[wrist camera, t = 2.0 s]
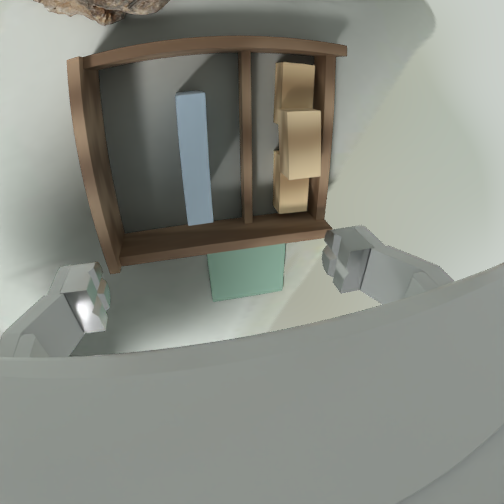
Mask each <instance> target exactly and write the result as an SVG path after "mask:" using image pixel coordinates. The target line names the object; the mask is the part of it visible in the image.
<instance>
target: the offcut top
mask: <svg viewBox="0 0 504 504" xmlns="http://www.w3.org/2000/svg"><path fill="white" fill-rule="evenodd" d="M277 110H278V131H279V154H280V172H281V173H282V174H283V175H284V176H285V177H287V178H288V179H289V180H294V179H302V178H311V177H320V176H321V111H320V110H316V109H311V108H289V109H277Z"/></svg>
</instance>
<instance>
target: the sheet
mask: <svg viewBox="0 0 504 504" xmlns="http://www.w3.org/2000/svg"><path fill="white" fill-rule="evenodd" d="M175 97H176V112H177V125H178V137H179V149H180V159H181V169H182V178H183V187H184V196H185V204H186V212H187V220H188V226H191V225H198V224H206V223H213V210H212V197H211V184H210V170H209V155H208V138H207V120H206V99H205V93H204V92H202V91H199V90H197V91H186V92H177V93H176V96H175Z"/></svg>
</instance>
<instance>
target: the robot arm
mask: <svg viewBox="0 0 504 504" xmlns="http://www.w3.org/2000/svg"><path fill="white" fill-rule="evenodd" d="M324 241H325V242H326V244H327V246H326V247H325V248H324V250H323V253H322V263H323V267H324V270H325V271H326V273H327V274H328V275H330V276H332V277H334V278H333V283H334V285H335V286H336V287H337V289H338V290H339V292H340V293H345V292H351V291H355V290H361V291H362V292H363V293H365V294H367V295H368V296H370V297H372V298H373V299H374V300H376V301H378V302H379V303H381V304H382V305H380V306H376V307H373V308H369V309H366V310H362V311H358V312H355V313H351V314H347V315H343V316H339V317H335V318H331V319H327V320H323V321H319V322H314V323H310V324H306V325H301V326H296V327H292V328H287V329H282V330H277V331H273V332H267V333H262V334H257V335H252V336H246V337H241V338H235V339H229V340H223V341H216V342H210V343H203V344H197V345H190V346H182V347H175V348H167V349H158V350H149V351H140V352H130V353H119V354H106V355H91V356H70V354H71V353H72V351H73V350H74V349H75V347H76V346H77V344H78V343H79V342H80V340H81V339H82V337H83V336H84V335H85V334H84V333H92V332H100V331H106V326H107V320H108V316H107V313H106V311H107V310H108V309H109V308H110V302H111V301H110V291H109V287H108V284H107V282H106V281H105V280H104V279H102V278H101V277H102V273H103V271H102V268H101V266H100V263H98V262H89V263H82V264H74V265H67V266H62V267H60V268H59V269H58V272H57V274H56V276H55V278H54V281H53V283H52V285H51V287H50V290H49V292H48V295H46V296H43V297H42V298H41V299H40V300H38V301H37V302H36V303H35V304H34V305H33V306H32V307H31V308H29V309H28V310H27V311H26V312H25V313H24V314H23V315H22V316H21V317H20V318H19V319H18V320H16V321H15V322H14V323H13V324H12V325H11V326H10V327H9V328H8V329H7V330H6V331H5V332H4V333H3V334H2V336H1V339H0V504H504V263H502V264H499V265H497V266H495V267H492V268H490V269H487V270H485V271H482V272H479V273H477V274H474V275H471V276H469V277H466V278H464V279H461V280H458V281H454V280H453V279H452V278H451V277H450V276H449V275H448V274H447V273H446V272H445V271H444V270H443V269H442V268H441V267H440V266H438V265H435V264H433V263H431V262H428V261H426V260H423V259H421V258H419V257H416V256H414V255H411V254H409V253H406V252H404V251H401V250H398V249H396V248H394V247H391V246H385V245H384V244H383V243H382V242H381V241H380V240H379V239H378V238H377V237H376V236H375V235H374V234H373V233H372V232H370V230H368V229H367V228H366V227H365V226H363V225H358V226H352V227H346V228H340V229H333V230H327V231H326V234H325V238H324ZM69 356H70V357H69Z"/></svg>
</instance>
